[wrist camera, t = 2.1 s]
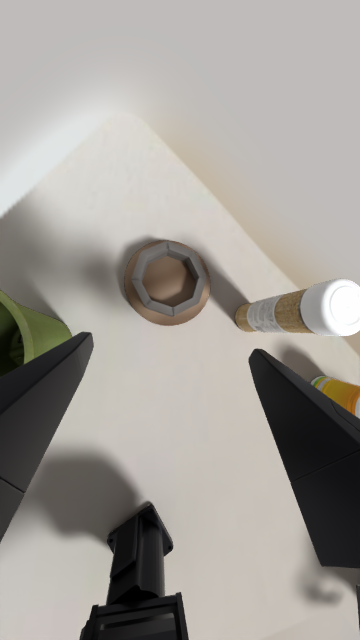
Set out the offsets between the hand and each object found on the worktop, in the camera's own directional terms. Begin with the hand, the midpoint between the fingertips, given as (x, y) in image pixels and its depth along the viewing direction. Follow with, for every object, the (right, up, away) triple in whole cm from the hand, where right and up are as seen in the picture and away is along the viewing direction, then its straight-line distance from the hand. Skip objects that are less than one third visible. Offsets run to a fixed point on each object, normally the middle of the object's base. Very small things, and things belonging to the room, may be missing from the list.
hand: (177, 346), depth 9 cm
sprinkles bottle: (+11, +2, +17) cm, 20 cm away
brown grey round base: (-2, +7, +15) cm, 16 cm away
